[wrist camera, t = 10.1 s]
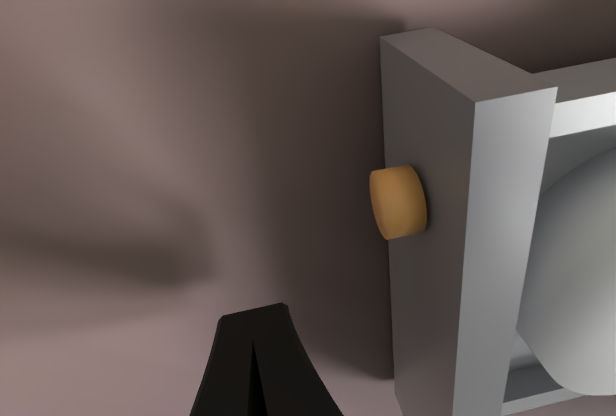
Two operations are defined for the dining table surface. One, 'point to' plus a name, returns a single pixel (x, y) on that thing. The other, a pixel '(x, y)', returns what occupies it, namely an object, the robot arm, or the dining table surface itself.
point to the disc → (574, 279)
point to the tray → (473, 212)
